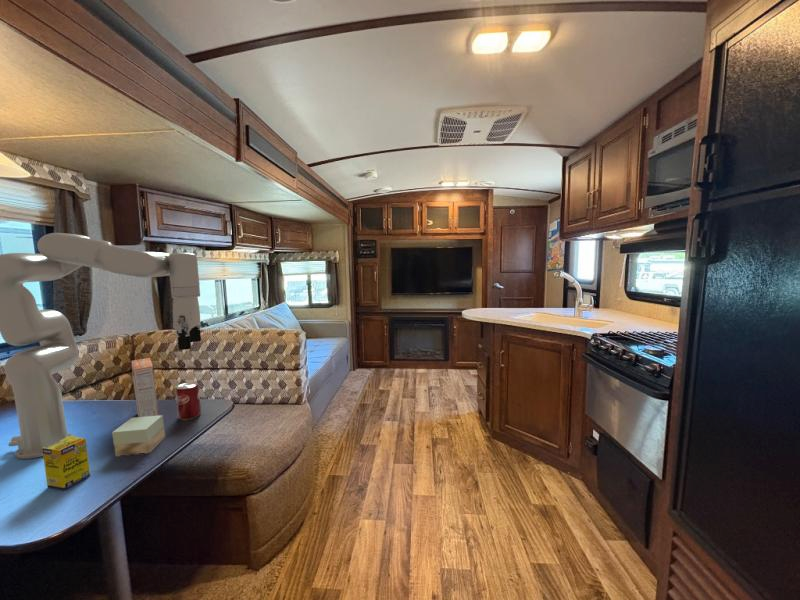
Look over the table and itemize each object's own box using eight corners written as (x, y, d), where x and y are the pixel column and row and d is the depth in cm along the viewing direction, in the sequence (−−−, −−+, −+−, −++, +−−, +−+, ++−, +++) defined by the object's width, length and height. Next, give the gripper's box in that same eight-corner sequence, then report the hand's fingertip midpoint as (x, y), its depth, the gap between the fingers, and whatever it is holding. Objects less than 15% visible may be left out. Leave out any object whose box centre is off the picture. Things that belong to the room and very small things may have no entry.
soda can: (184, 422, 117) (181, 390, 115) (174, 417, 121) (171, 386, 119) (205, 414, 123) (202, 384, 121) (195, 410, 127) (192, 380, 125)
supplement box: (65, 491, 82) (59, 450, 81) (46, 488, 84) (40, 448, 82) (91, 475, 88) (86, 437, 87) (74, 473, 89) (68, 435, 88)
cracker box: (136, 413, 124) (130, 360, 122) (156, 408, 128) (151, 357, 126) (138, 427, 114) (132, 369, 111) (159, 421, 118) (154, 365, 115)
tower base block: (115, 457, 97) (114, 444, 97) (134, 441, 106) (133, 429, 105) (149, 454, 99) (148, 441, 98) (165, 438, 107) (164, 426, 107)
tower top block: (113, 444, 96) (112, 432, 96) (133, 429, 105) (131, 417, 105) (147, 441, 98) (146, 429, 97) (163, 426, 107) (162, 415, 106)
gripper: (182, 290, 110) (186, 339, 112) (160, 295, 94) (165, 353, 96) (207, 289, 112) (211, 338, 114) (189, 294, 96) (194, 351, 98)
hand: (190, 345), depth 105 cm, fingers open, 9 cm apart
